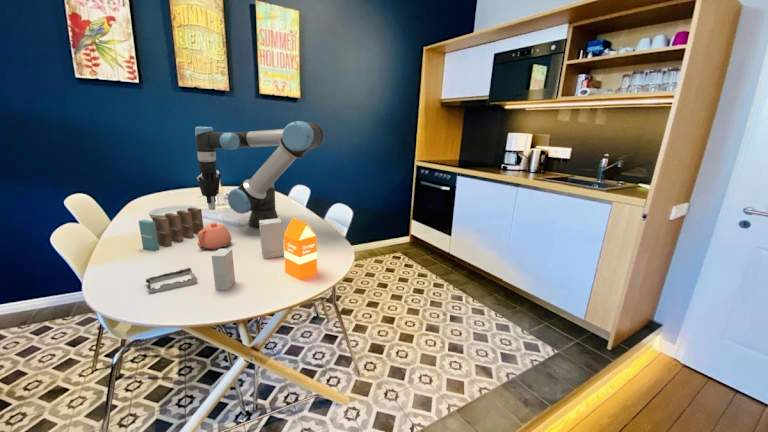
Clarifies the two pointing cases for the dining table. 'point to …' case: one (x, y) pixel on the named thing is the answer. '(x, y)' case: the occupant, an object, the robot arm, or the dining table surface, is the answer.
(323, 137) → the robot arm
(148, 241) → the domino
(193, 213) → the domino
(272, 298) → the dining table surface
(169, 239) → the domino
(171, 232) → the domino
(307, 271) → the orange juice
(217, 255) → the skincare box
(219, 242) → the sugar bowl
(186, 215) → the domino
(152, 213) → the serving bowl
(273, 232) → the skincare box
